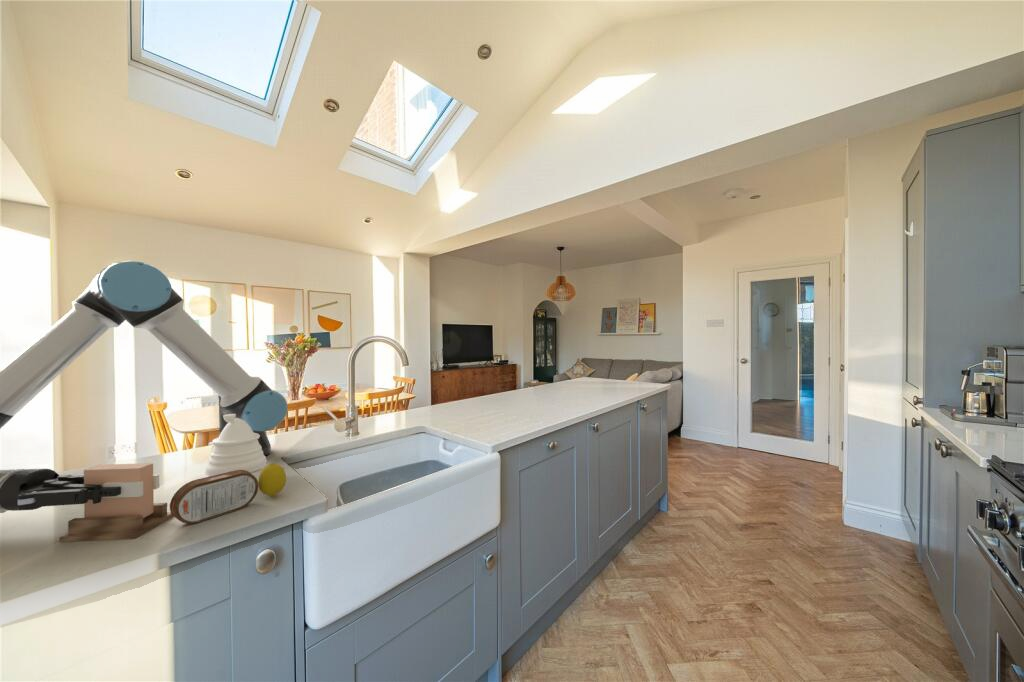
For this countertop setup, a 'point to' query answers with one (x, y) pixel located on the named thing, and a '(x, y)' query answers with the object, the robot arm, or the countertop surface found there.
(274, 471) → the lemon
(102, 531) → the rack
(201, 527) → the countertop surface
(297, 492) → the countertop surface
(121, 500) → the tan square block
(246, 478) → the tin
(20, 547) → the countertop surface
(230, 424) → the honey pot
